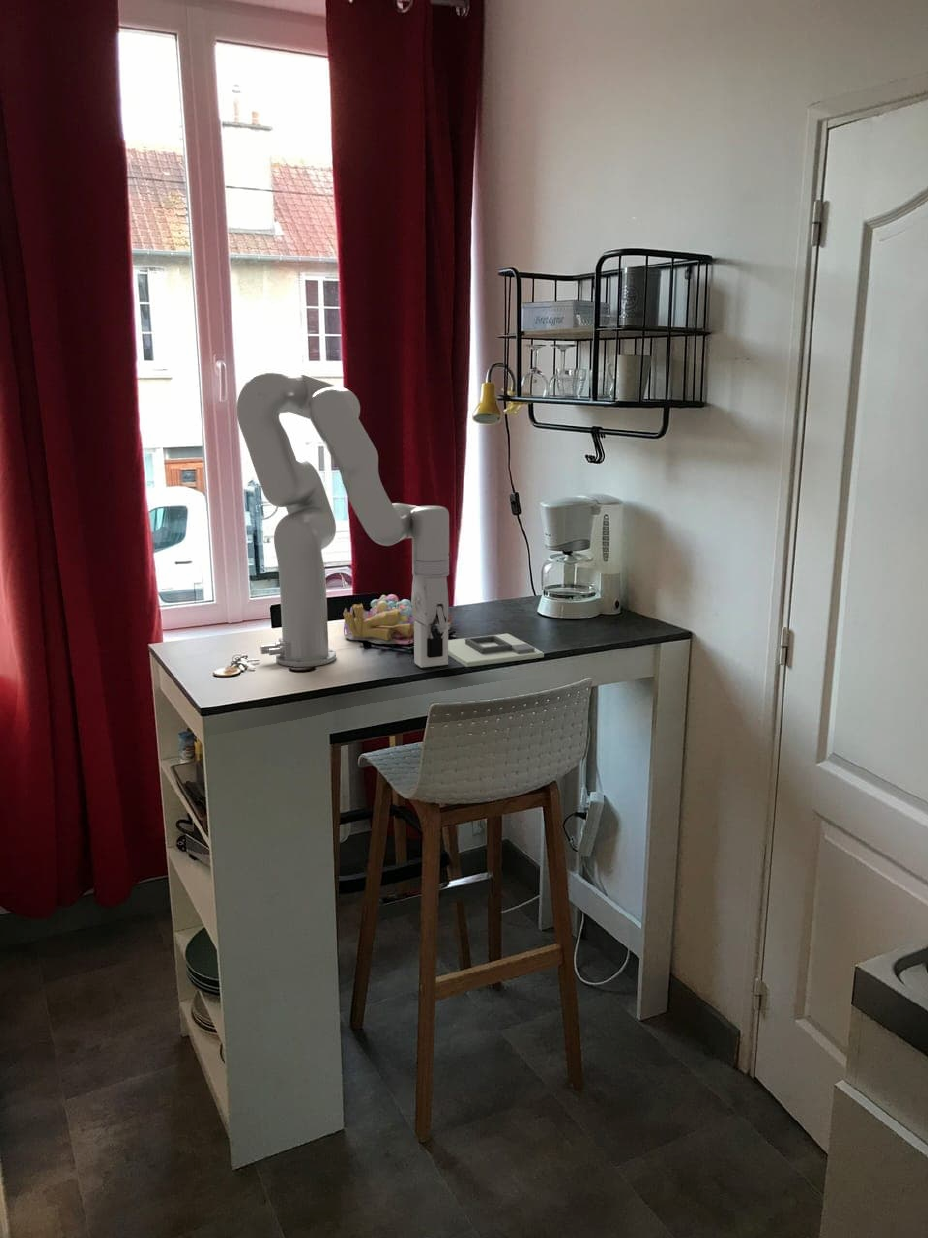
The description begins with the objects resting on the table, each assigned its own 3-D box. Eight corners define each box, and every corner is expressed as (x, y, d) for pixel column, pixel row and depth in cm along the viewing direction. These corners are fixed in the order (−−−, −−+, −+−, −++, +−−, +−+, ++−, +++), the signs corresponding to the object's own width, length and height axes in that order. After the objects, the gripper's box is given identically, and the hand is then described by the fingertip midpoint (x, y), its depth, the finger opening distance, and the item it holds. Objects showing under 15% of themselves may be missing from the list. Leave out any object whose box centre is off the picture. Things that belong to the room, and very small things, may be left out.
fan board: (466, 667, 201) (466, 656, 201) (434, 646, 217) (434, 636, 217) (543, 657, 208) (544, 647, 207) (507, 637, 224) (507, 628, 224)
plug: (421, 667, 199) (420, 615, 197) (414, 662, 203) (413, 611, 200) (448, 664, 202) (448, 612, 199) (440, 659, 205) (440, 608, 203)
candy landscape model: (428, 651, 215) (427, 610, 212) (328, 644, 221) (327, 604, 218) (457, 624, 238) (457, 587, 236) (367, 619, 244) (366, 583, 242)
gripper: (399, 561, 204) (400, 645, 208) (428, 576, 189) (428, 666, 193) (432, 559, 206) (433, 642, 211) (463, 573, 192) (463, 662, 196)
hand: (430, 653), depth 202 cm, fingers closed on plug, 4 cm apart
